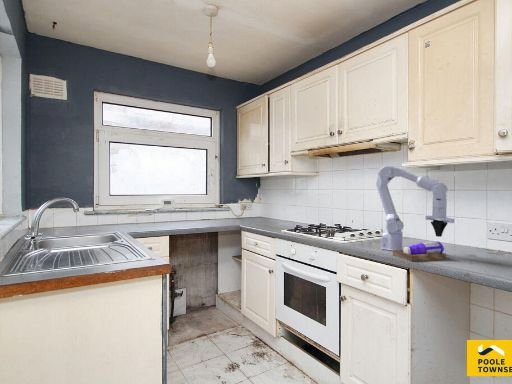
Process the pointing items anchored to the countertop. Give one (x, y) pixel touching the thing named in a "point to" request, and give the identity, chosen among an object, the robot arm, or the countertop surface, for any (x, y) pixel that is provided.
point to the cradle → (419, 256)
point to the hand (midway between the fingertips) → (438, 236)
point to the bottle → (424, 248)
